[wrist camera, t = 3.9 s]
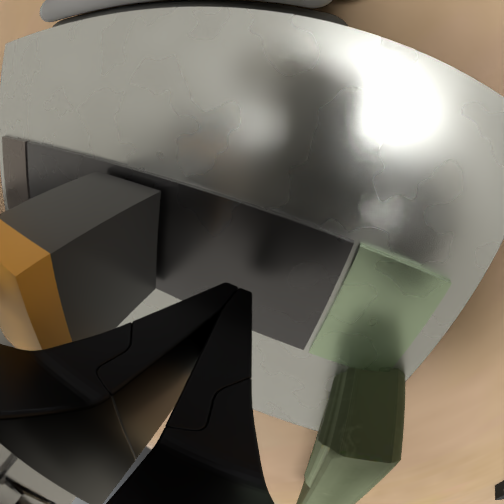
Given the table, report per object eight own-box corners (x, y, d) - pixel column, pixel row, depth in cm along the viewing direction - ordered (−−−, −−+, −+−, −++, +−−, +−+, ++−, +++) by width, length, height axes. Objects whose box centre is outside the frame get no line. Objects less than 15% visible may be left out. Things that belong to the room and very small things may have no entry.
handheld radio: (415, 329, 12) (325, 493, 23) (346, 318, 13) (296, 487, 24) (416, 465, 6) (307, 544, 17) (314, 453, 7) (276, 537, 19)
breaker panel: (37, 260, 19) (16, 274, 17) (31, 42, 10) (2, 44, 8) (350, 409, 14) (345, 442, 13) (515, 121, 6) (548, 128, 4)
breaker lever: (98, 261, 12) (4, 336, 7) (95, 167, 10) (-35, 227, 5) (157, 291, 11) (62, 390, 7) (163, 189, 9) (15, 276, 4)
